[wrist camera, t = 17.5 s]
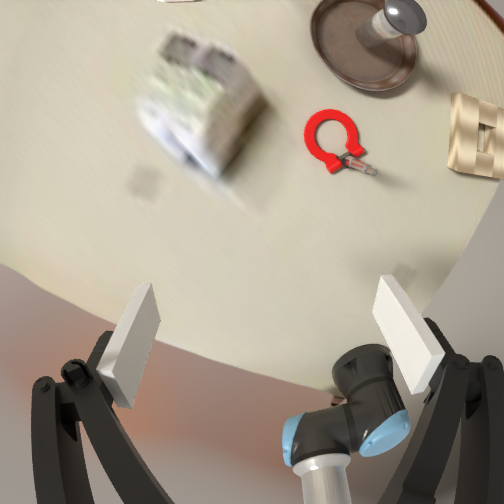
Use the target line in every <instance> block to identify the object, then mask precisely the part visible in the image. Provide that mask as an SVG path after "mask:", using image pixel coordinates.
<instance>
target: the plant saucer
mask: <svg viewBox="0 0 504 504" xmlns="http://www.w3.org/2000/svg"><path fill="white" fill-rule="evenodd" d="M385 1H386V0H321V1H320V2H319V3H318V4H317V5H316V7H315V8H314V10H313V12H312V15H311V19H310V36H311V40H312V44H313V46H314V49H315V51H316V53H317V54H318V56H319V58H320V59H321V61H322V62H323V63H324V64H325V66H326V67H327V68H328V69H329V70H330V71H331V72H332V73H333V74H335V75H336V76H337V77H339V78H340V79H341V80H343V81H345V82H346V83H348V84H350V85H352V86H355V87H357V88H361V89H364V90H370V91H385V90H389V89H393V88H395V87H397V86H399V85H401V84H402V83H403V82H405V81H406V80H407V79H408V77H409V76H410V75H411V73H412V72H413V70H414V67H415V64H416V60H417V44H416V40H415V36H414V35H405V34H403V35H400V36H398V37H396V38H393V39H391V40H389V41H386V42H384V43H382V44H380V45H378V46H376V47H372V48H369V47H365V46H363V45H362V44H361V43H360V42H359V41H358V40H357V38H356V35H355V31H356V28H357V27H358V26H359V25H361V24H362V23H364V22H365V21H366V20H368V19H369V18H370V17H372V16H373V15H375V14H376V13H378V12H379V11H380V10H382V9H383V6H384V3H385Z"/></svg>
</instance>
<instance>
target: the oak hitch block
mask: <svg viewBox="0 0 504 504" xmlns="http://www.w3.org/2000/svg"><path fill="white" fill-rule="evenodd" d="M479 123H480V124H483V125H485V139H484V151H483V152H482V151H478V150H477V141H478V125H479ZM447 167H448V168H451V169H453V170H456V171H458V172H464V173H471V174H477V175H483V176H488V177H494V178H499V179H504V109H503V108H500V107H498V106H495V105H493V104H490V103H488V102H485V101H482V100H480V99H477V98H474V97H471V96H468V95H465V94H458V93H451V129H450V144H449V155H448V165H447Z"/></svg>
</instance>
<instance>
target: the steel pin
mask: <svg viewBox="0 0 504 504" xmlns="http://www.w3.org/2000/svg"><path fill="white" fill-rule="evenodd" d="M426 25H427V19H426V15H425V13H424V11H423V9H422V8H421V7H420V5H419V4H418V3H417V2H416V1H414V0H386V1H385V3H384V6H383V9H382V10H380V11H379V12H378V13H376V14H375V15H373V16H372V17H370V18H369V19H368V20H366V21H365V22H364V23H362V24H361V25H359V26H358V27H357V28H356V31H355V35H356V38H357V40H358V41H359V42H360V43H361V44H362V45H363V46H365V47H369V48H372V47H376V46H378V45H380V44H382V43H384V42H386V41H389V40H391V39H393V38H396V37H398V36H400V35H403V34H405V35H416V34H419V33H421V32H423V31H424V30H425V28H426Z"/></svg>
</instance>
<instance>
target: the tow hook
mask: <svg viewBox="0 0 504 504" xmlns="http://www.w3.org/2000/svg"><path fill="white" fill-rule="evenodd" d="M326 119H334V120H337V121H339V122H340V123H342V124H343V125H344V127H345V128H346V131H347V137H348V138H347V142H346V145H345V146H346V148H347V150H348V152H346V153H345V154H343V155H342V156H340V157H338V158H337V157H336V155H335V154H333V153H327V152H324V151H322V150H321V149H320V148H319V147H318V146H317V144H316V142H315V138H314V133H315V129H316V127H317V125H318V124H319V123H320V122H322V121H323V120H326ZM357 140H358V136H357V130H356V127H355V124H354V123H353V121H352V120H351V119H350V118H349V117H348V116H347V115H346V114H344V113H342V112H340V111H338V110H333V109H328V110H322V111H319V112H317V113H315V114H314V115H313V116H311V118H310V119H309V120H308V121H307V124H306V126H305V129H304V141H305V144H306V146H307V149H308V150H309V151H310V153H311V154H312V155H313V156H315V157H316V158H317V159H319V160H321V161H323V162H325V164H326V168H327V170H328V171H329V172H330V173H333V172H334V171H336V170H338V169H339V168H341V167H344V168H348V167H349V166H350V167H352V168H356V169H358V170H360V171H362V172H364V173H366V174H372V175H376V174H377V170H376V169H374V168H372V166H371V165H368V164H366V163H364V162H361V161H359V160H358V159H356V158H357V157H358V156H360V155H362V154H363V153H365V152H364V150H363V148H362V147H361V146H360V145H359V144H358V142H357Z"/></svg>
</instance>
